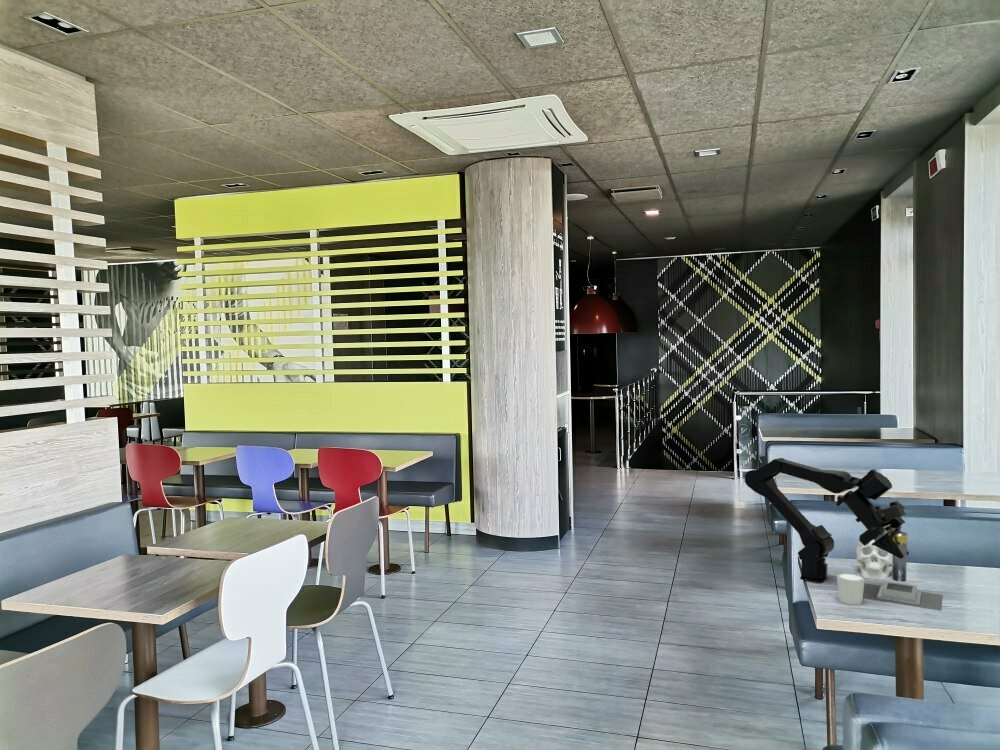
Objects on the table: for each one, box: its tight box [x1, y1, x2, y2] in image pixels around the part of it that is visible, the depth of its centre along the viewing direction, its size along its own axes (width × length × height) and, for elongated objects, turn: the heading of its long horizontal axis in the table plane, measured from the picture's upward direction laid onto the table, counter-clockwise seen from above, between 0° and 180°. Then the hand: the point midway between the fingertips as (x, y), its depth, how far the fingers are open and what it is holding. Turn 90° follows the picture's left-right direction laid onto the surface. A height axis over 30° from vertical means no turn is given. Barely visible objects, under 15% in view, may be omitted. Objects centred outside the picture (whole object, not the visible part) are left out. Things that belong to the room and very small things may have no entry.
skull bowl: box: [855, 540, 893, 580], centre depth 221 cm, size 10×14×12 cm
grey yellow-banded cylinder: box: [891, 530, 908, 583], centre depth 199 cm, size 4×4×13 cm
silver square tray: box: [877, 581, 922, 606], centre depth 200 cm, size 10×10×3 cm
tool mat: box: [863, 582, 944, 612], centre depth 201 cm, size 22×14×1 cm, turn 57°
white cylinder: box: [836, 573, 866, 606], centre depth 197 cm, size 7×7×7 cm
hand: (905, 556), depth 198 cm, fingers closed on grey yellow-banded cylinder, 3 cm apart
